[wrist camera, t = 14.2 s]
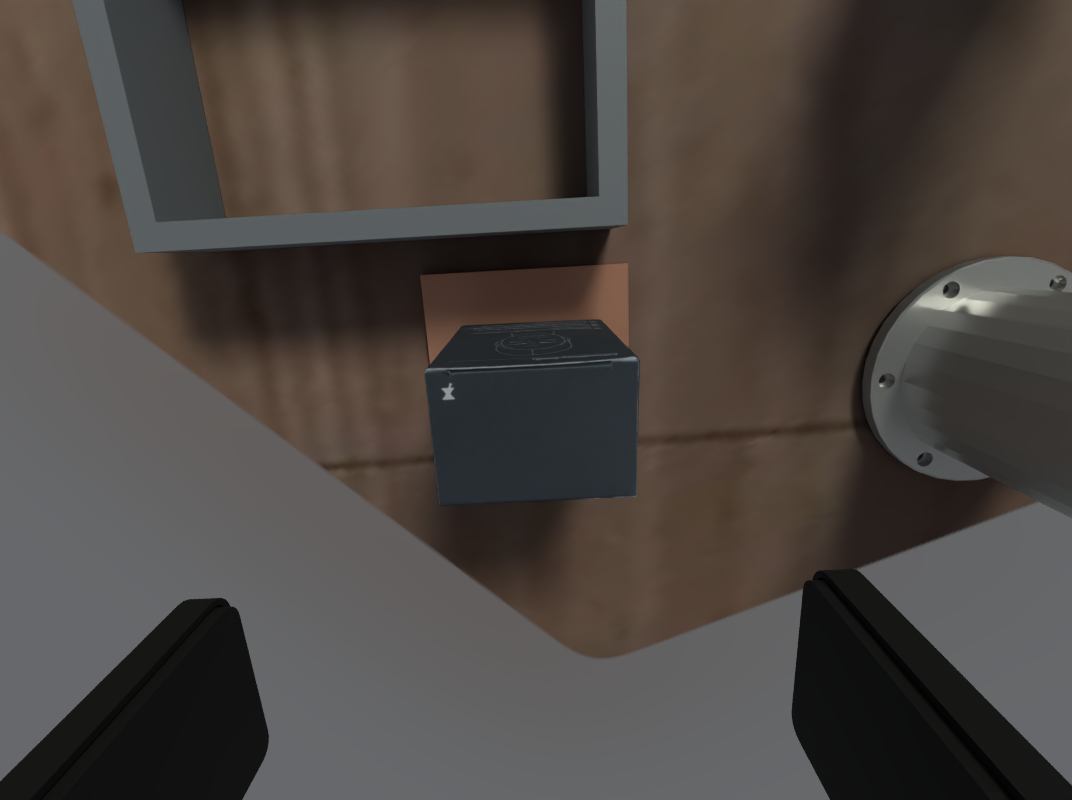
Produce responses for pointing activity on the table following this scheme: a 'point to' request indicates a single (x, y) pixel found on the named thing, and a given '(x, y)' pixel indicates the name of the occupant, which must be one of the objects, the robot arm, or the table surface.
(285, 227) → the enclosure
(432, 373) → the box
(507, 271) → the mat
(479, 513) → the table surface
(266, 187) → the table surface
